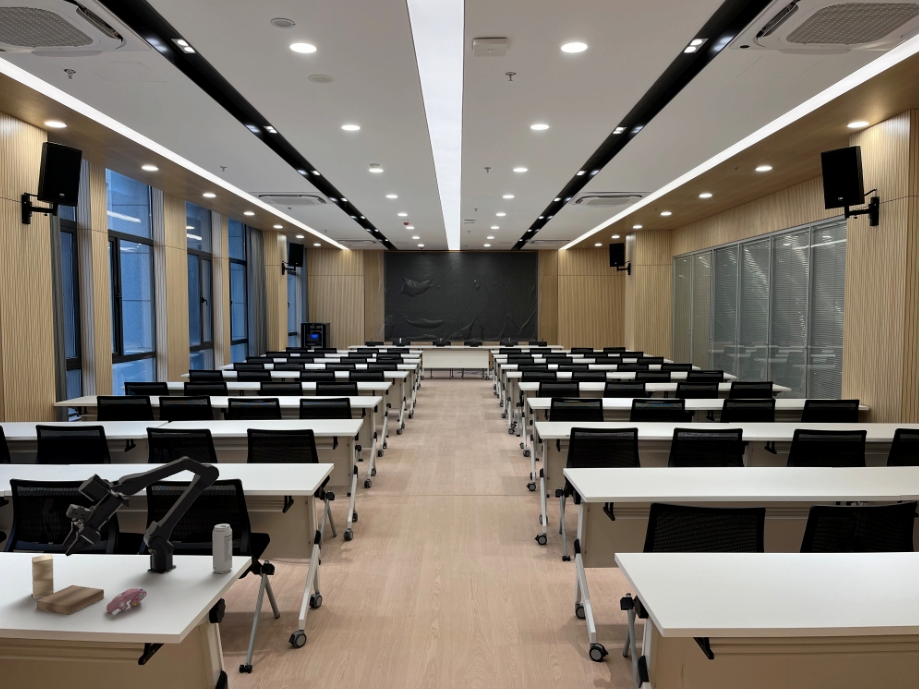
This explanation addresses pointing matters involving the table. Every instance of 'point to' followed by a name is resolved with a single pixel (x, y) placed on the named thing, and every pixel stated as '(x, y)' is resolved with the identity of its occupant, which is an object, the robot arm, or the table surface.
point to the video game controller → (126, 599)
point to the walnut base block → (70, 599)
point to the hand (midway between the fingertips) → (64, 551)
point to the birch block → (42, 576)
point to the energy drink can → (222, 548)
